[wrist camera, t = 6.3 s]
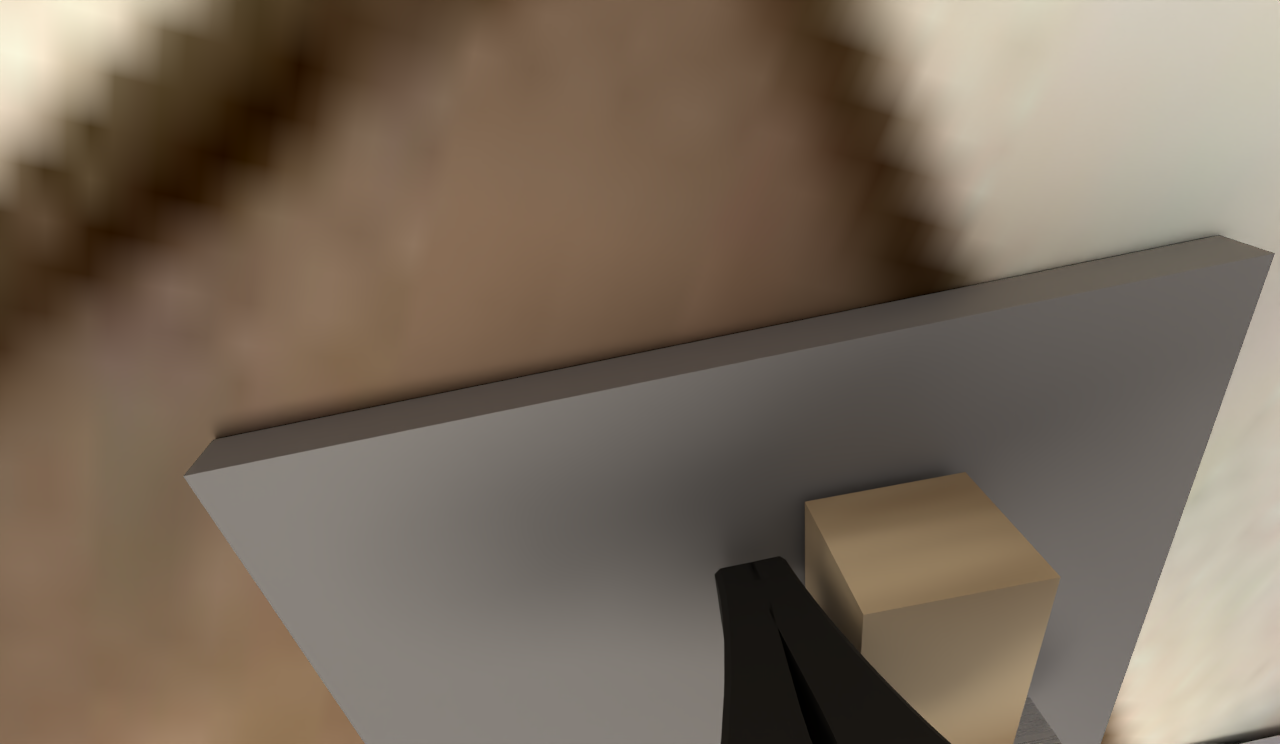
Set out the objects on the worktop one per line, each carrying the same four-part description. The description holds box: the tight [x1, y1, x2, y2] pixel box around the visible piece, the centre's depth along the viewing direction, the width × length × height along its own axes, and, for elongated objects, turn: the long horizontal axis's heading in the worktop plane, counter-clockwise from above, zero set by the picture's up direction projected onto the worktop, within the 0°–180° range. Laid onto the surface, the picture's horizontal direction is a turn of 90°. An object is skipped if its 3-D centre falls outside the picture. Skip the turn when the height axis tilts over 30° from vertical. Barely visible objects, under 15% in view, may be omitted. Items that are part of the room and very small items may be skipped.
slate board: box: [184, 235, 1275, 744], centre depth 15 cm, size 18×18×1 cm
